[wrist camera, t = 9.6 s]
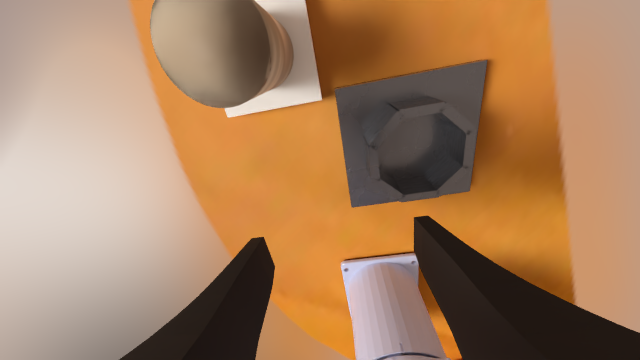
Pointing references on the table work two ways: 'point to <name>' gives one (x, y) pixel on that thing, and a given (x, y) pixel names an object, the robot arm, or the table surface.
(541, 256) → the table surface
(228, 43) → the tan cylinder
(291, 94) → the tile pad
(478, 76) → the housing
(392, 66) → the table surface
